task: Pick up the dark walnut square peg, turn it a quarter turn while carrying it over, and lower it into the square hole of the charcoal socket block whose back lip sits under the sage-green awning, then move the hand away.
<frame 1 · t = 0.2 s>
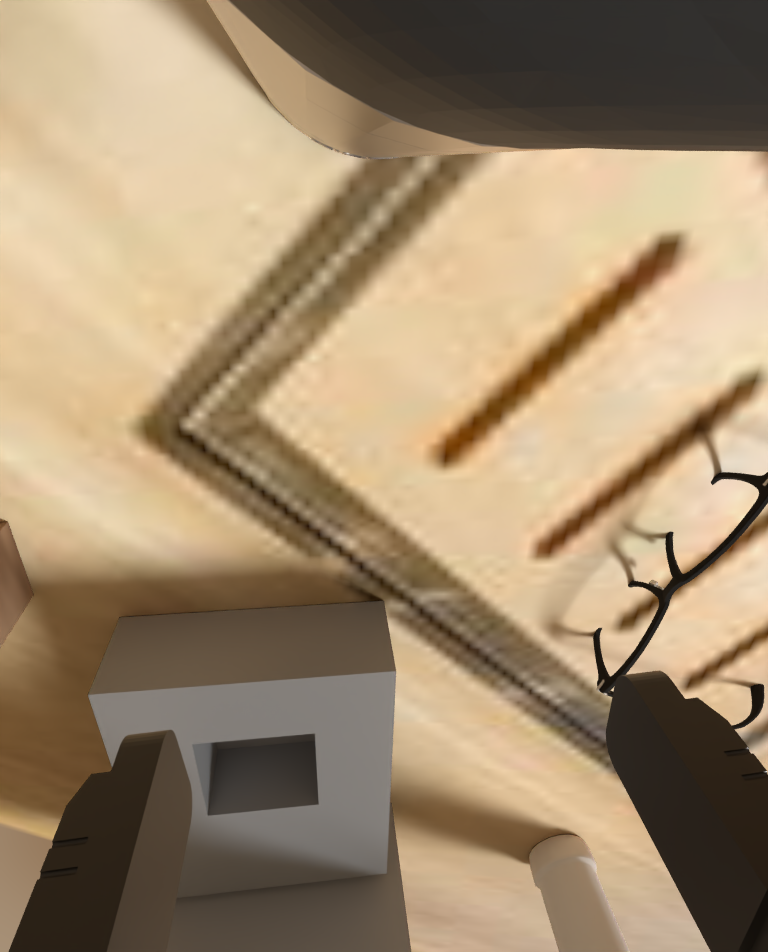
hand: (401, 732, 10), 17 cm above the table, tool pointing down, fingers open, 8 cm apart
socket: (265, 697, 34), on the table
bottle: (556, 848, 47), on the table
eyeglasses: (736, 583, 35), on the table
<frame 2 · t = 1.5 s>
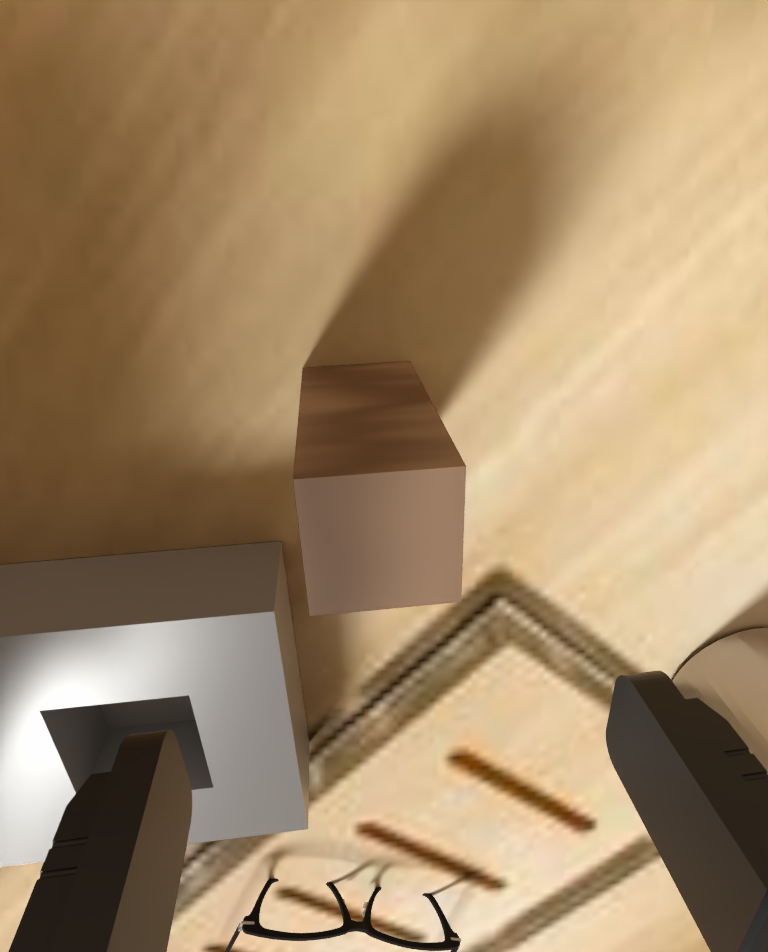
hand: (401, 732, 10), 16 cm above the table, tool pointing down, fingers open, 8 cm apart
socket: (160, 666, 29), on the table
eyeglasses: (323, 931, 43), on the table
peg: (359, 414, 24), on the table
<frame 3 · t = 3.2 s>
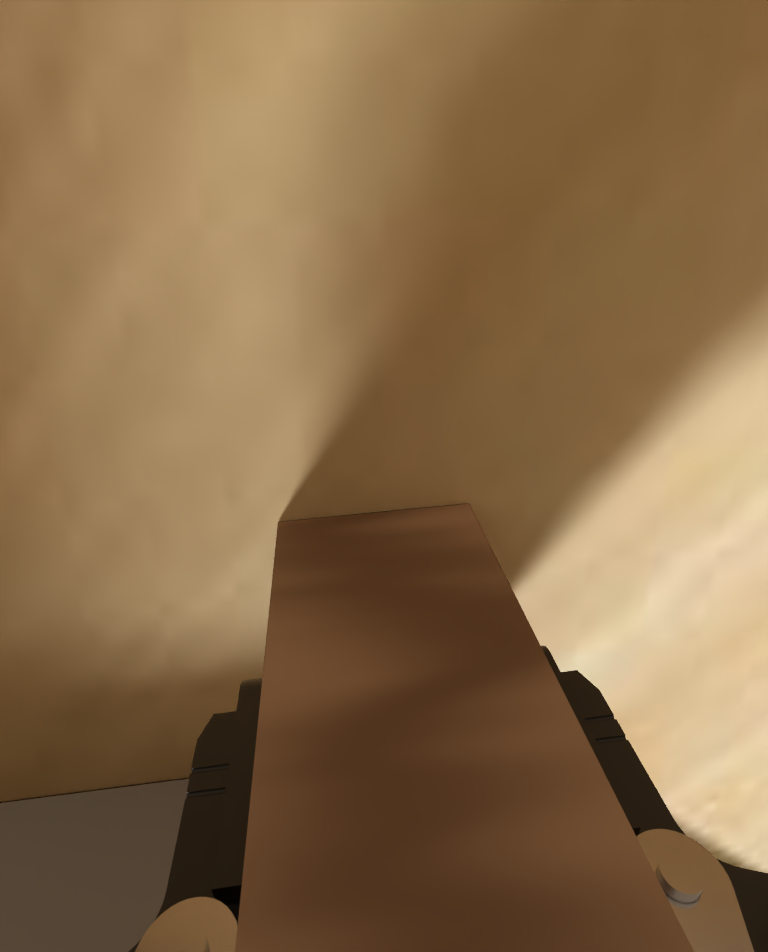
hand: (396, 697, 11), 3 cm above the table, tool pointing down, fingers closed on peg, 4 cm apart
socket: (71, 934, 19), on the table
peg: (379, 589, 14), on the table, touching gripper
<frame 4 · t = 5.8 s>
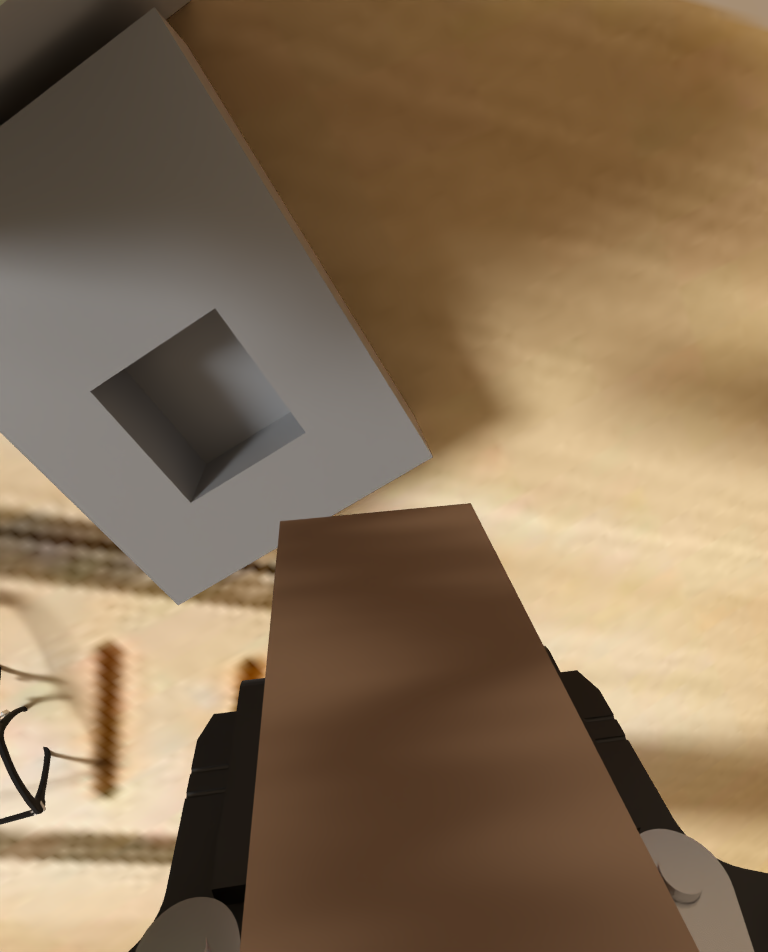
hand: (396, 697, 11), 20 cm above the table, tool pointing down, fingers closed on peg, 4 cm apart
socket: (220, 377, 27), on the table
peg: (380, 588, 14), point 16 cm above the table, touching gripper
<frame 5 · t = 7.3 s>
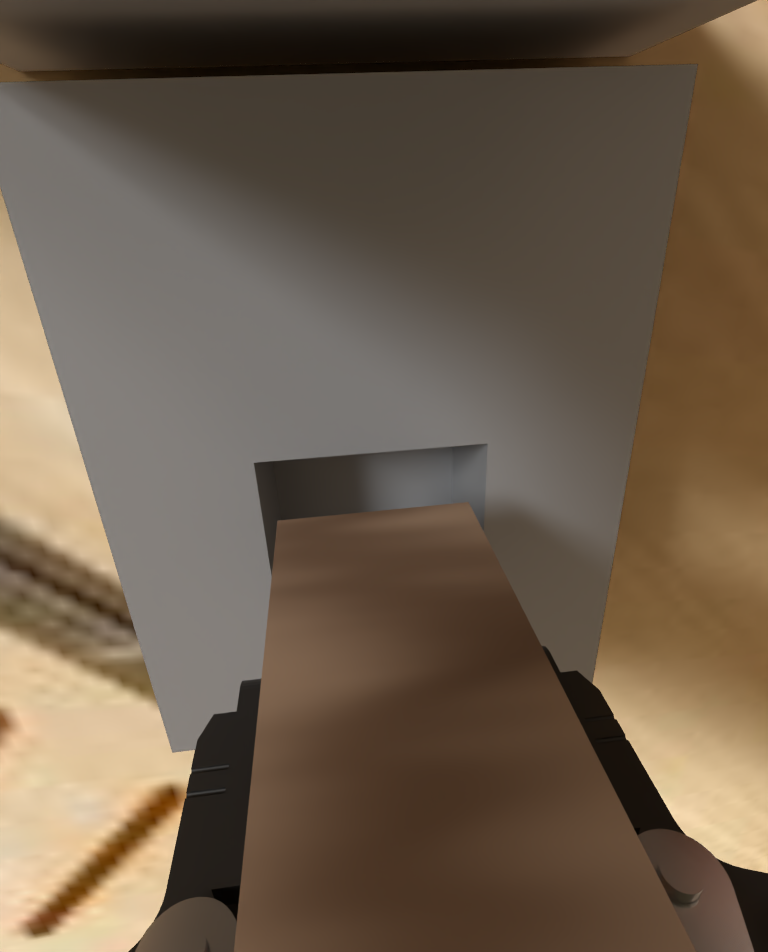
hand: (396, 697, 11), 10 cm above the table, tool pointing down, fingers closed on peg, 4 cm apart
socket: (363, 472, 20), on the table
awning: (393, 19, 6), on the table
peg: (379, 588, 14), point 7 cm above the table, touching gripper
when the fingers open (6 cm above the table, at t = 8.5 s): peg drops 2 cm, resting on socket.
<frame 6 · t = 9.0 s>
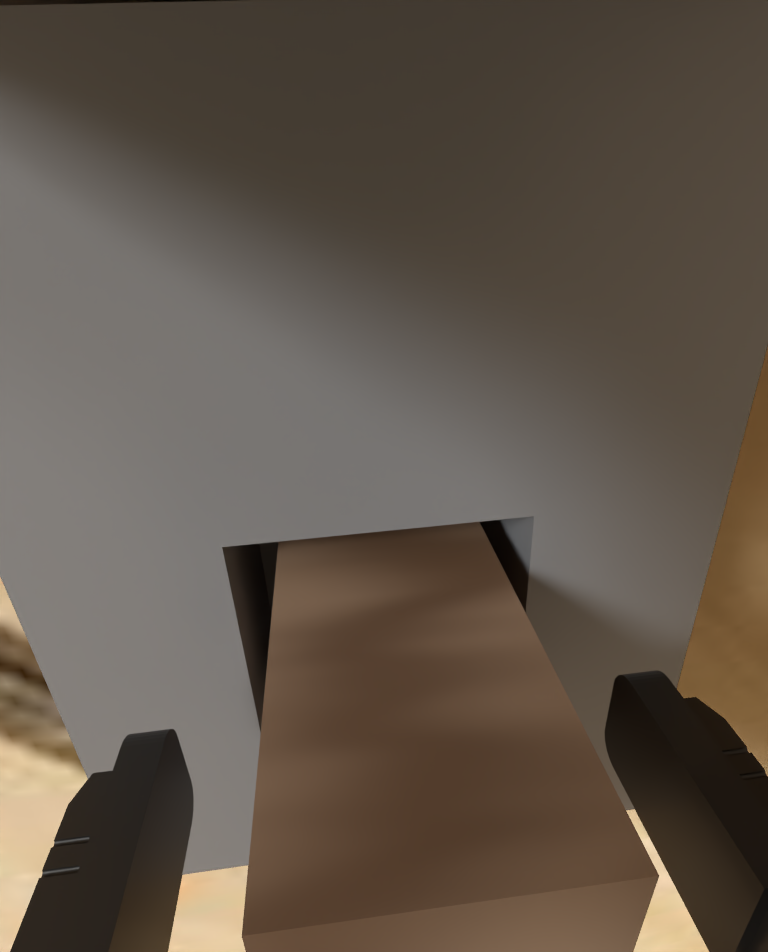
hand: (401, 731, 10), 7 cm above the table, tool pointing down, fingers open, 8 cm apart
socket: (367, 526, 17), on the table
peg: (372, 545, 16), point 1 cm above the table, touching socket
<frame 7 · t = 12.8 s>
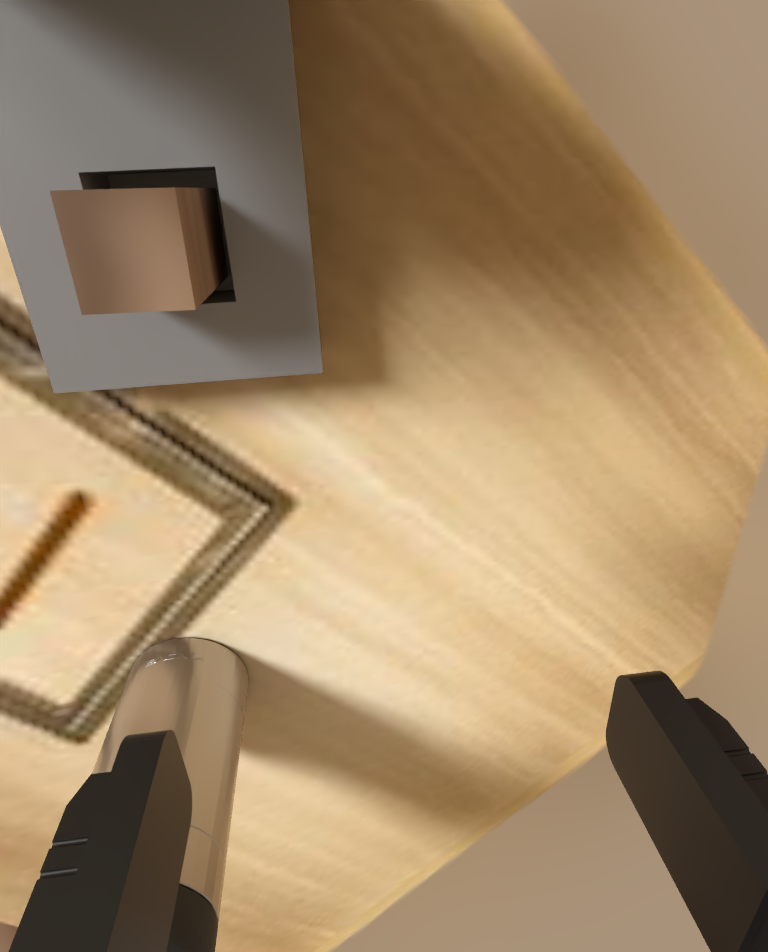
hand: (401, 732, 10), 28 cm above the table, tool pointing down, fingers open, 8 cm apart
socket: (183, 233, 31), on the table
peg: (180, 235, 31), point 1 cm above the table, touching socket
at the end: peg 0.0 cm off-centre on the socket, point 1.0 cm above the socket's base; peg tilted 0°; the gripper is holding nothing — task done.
